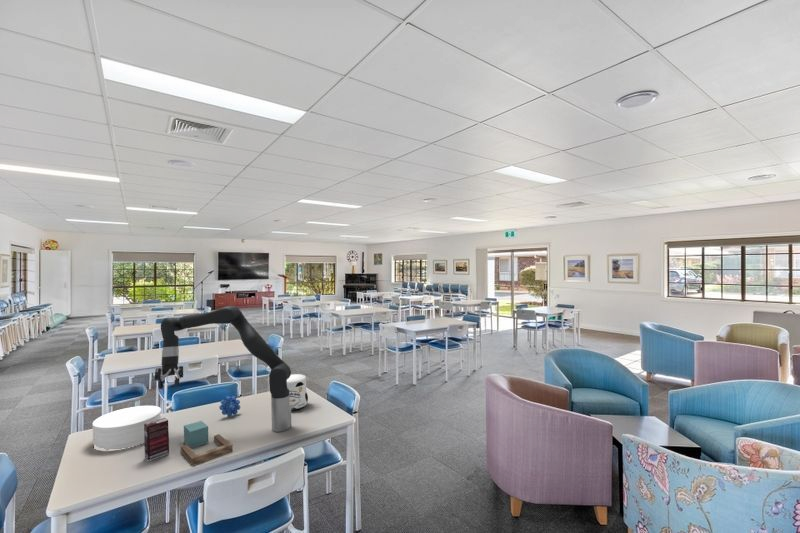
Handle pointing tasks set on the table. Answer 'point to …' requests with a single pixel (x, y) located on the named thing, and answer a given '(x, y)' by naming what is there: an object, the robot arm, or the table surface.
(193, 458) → the walnut bay
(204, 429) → the teal block
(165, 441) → the supplement box
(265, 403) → the table surface
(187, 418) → the table surface
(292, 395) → the milk container
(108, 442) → the plate stack
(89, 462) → the table surface
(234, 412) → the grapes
